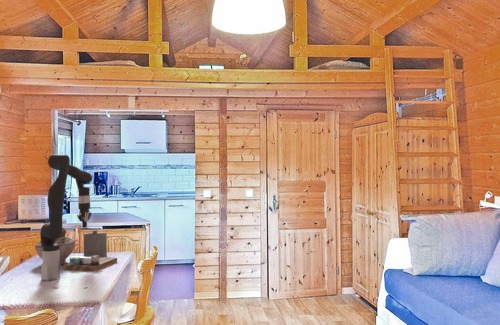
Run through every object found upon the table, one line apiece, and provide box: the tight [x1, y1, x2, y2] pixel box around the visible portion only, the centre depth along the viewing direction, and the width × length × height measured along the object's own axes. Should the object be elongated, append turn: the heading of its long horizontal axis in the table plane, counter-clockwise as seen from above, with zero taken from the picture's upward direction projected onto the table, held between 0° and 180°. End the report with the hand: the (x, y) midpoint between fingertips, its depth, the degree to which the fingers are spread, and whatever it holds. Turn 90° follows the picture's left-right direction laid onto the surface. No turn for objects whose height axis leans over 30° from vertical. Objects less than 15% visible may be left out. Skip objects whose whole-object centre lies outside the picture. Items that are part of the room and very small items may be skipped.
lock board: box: [62, 256, 118, 272], centre depth 269 cm, size 24×25×7 cm
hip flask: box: [83, 229, 108, 257], centre depth 294 cm, size 16×4×20 cm, turn 105°
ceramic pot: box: [34, 227, 76, 266], centre depth 276 cm, size 25×25×24 cm
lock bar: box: [69, 255, 99, 265], centre depth 262 cm, size 20×5×5 cm, turn 75°
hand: (84, 227), depth 274 cm, fingers closed
